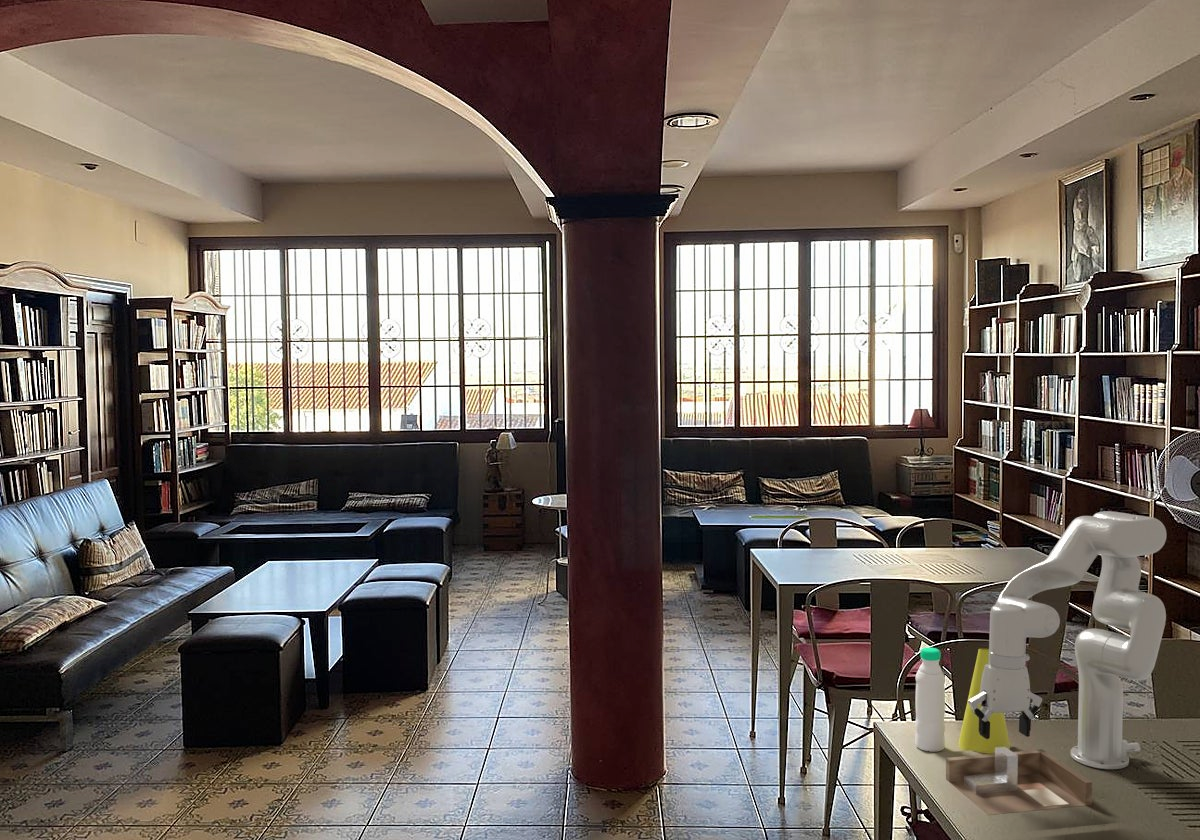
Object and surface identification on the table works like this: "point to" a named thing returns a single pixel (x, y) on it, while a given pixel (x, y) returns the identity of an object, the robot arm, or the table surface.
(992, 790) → the bracket
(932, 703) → the water bottle
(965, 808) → the table surface
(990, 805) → the tray
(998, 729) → the cone
